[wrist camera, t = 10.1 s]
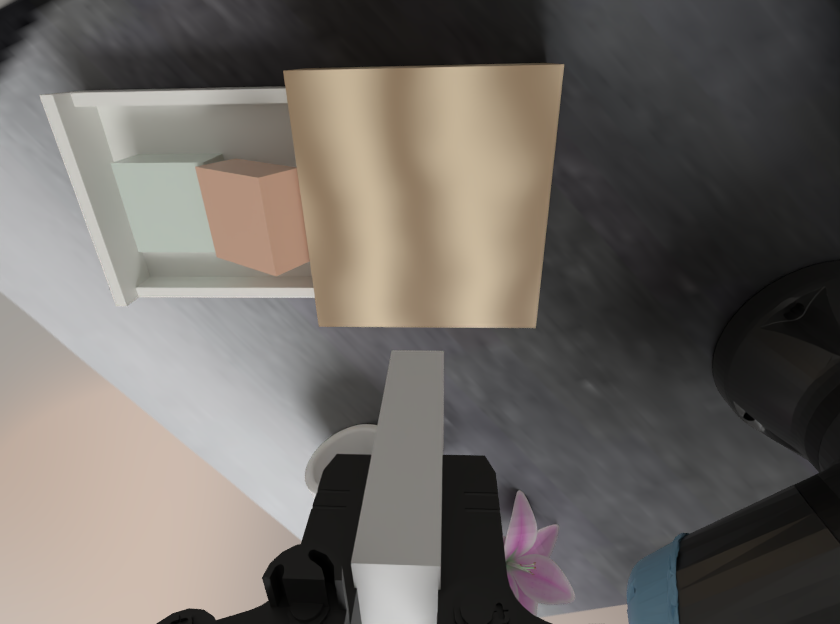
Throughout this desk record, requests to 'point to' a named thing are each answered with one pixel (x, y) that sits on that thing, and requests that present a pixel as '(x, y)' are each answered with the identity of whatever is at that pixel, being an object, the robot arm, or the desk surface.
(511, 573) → the lily
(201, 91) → the tray
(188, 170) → the tile grey
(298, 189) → the tile terracotta
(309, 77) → the oak board
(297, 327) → the desk surface
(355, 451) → the mug
